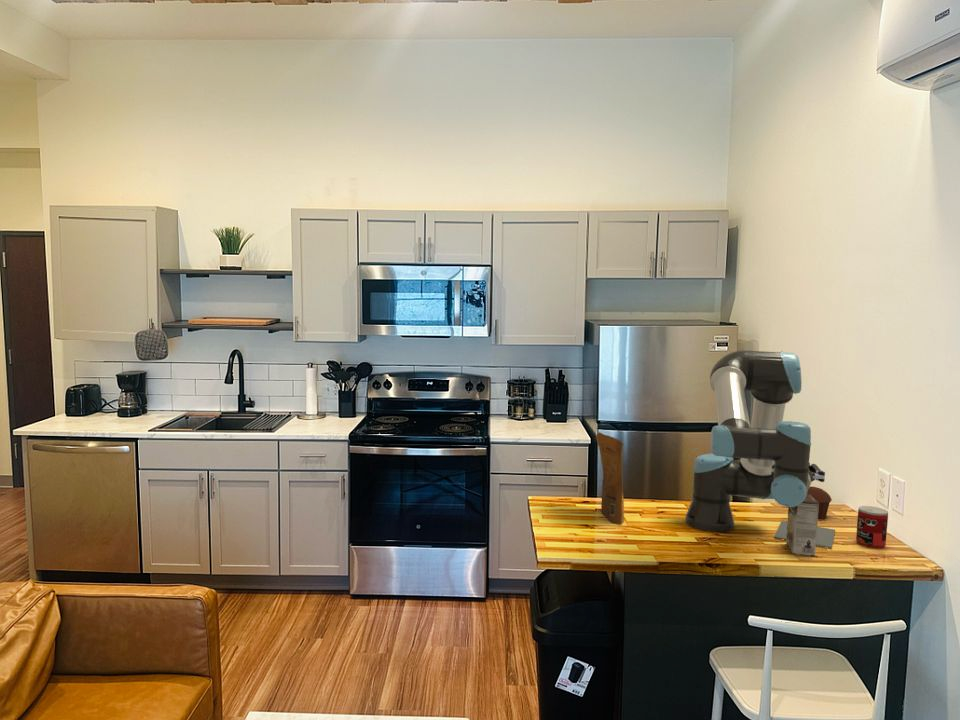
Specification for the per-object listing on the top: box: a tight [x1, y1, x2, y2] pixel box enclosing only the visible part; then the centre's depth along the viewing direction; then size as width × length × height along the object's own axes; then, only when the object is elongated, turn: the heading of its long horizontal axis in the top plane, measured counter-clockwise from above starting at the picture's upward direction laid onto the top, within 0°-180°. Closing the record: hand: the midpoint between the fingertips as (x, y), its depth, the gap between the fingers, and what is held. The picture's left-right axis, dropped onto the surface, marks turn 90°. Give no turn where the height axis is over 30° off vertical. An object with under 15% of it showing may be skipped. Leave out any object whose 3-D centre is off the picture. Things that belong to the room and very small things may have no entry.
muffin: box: [807, 486, 833, 520], centre depth 233 cm, size 12×11×10 cm
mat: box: [773, 520, 836, 549], centre depth 213 cm, size 16×19×1 cm
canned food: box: [855, 505, 889, 549], centre depth 205 cm, size 8×8×11 cm
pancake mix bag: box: [595, 431, 625, 525], centre depth 224 cm, size 7×19×28 cm, turn 8°
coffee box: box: [785, 494, 819, 556], centre depth 199 cm, size 9×6×16 cm
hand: (803, 462), depth 188 cm, fingers closed
